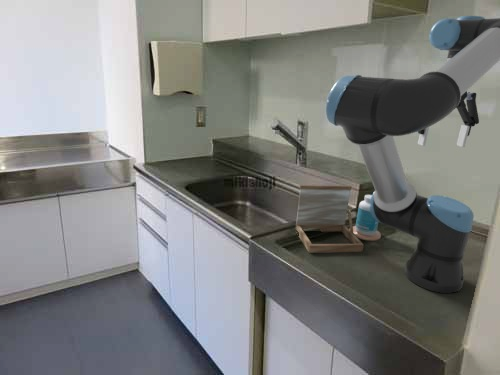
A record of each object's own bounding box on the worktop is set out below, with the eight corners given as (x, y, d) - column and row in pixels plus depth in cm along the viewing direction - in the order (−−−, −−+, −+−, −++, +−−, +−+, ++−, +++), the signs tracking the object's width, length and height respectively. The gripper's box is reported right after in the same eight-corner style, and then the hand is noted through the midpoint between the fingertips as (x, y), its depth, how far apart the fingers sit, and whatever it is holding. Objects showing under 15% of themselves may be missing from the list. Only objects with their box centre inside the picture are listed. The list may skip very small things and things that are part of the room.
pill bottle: (377, 238, 127) (384, 201, 123) (355, 235, 128) (361, 199, 124) (374, 229, 134) (381, 194, 130) (354, 226, 135) (359, 192, 131)
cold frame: (365, 252, 118) (375, 202, 113) (308, 253, 115) (315, 202, 109) (346, 230, 133) (353, 185, 128) (294, 230, 130) (299, 185, 124)
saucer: (386, 240, 127) (386, 239, 127) (356, 240, 125) (357, 239, 125) (371, 227, 137) (372, 225, 137) (344, 227, 135) (344, 225, 135)
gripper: (485, 76, 113) (467, 144, 120) (411, 71, 109) (397, 141, 116) (505, 77, 106) (485, 149, 113) (427, 72, 102) (411, 146, 109)
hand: (440, 145), depth 114 cm, fingers open, 13 cm apart
